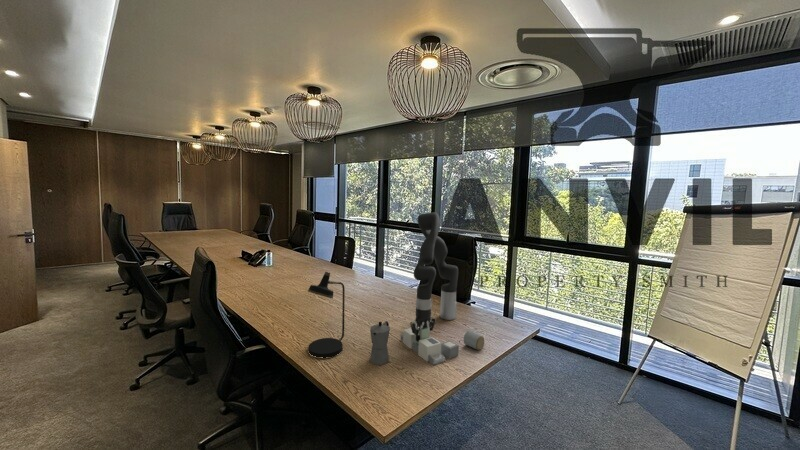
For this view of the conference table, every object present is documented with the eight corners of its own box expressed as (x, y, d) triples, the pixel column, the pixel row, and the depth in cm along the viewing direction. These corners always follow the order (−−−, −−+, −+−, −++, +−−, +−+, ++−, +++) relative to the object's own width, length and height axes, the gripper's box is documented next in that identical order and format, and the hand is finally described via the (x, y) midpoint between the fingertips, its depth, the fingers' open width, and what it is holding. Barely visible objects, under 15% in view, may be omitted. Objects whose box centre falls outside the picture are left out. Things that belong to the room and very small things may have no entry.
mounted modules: (416, 339, 164) (416, 326, 164) (440, 357, 147) (441, 342, 146) (403, 342, 160) (403, 329, 159) (426, 361, 143) (427, 346, 142)
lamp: (298, 353, 147) (298, 272, 143) (332, 336, 165) (333, 264, 161) (323, 364, 138) (323, 278, 134) (355, 345, 156) (357, 269, 153)
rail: (411, 336, 167) (411, 331, 167) (445, 361, 143) (445, 355, 143) (400, 339, 164) (400, 334, 163) (433, 365, 140) (433, 358, 140)
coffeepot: (382, 369, 135) (383, 329, 133) (363, 364, 139) (364, 325, 137) (396, 353, 149) (397, 316, 148) (378, 349, 153) (379, 313, 151)
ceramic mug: (476, 352, 152) (477, 337, 152) (462, 346, 158) (463, 331, 158) (488, 346, 160) (489, 331, 159) (474, 340, 166) (475, 326, 165)
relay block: (448, 350, 154) (449, 340, 154) (458, 355, 150) (458, 344, 149) (440, 353, 150) (440, 343, 150) (449, 359, 146) (450, 348, 145)
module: (423, 339, 157) (423, 324, 156) (429, 344, 152) (429, 327, 152) (415, 341, 154) (416, 325, 154) (421, 346, 150) (422, 329, 149)
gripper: (430, 301, 159) (429, 334, 160) (407, 306, 151) (405, 340, 153) (440, 306, 152) (438, 340, 154) (415, 311, 145) (414, 347, 146)
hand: (422, 340), depth 153 cm, fingers closed on module, 4 cm apart
